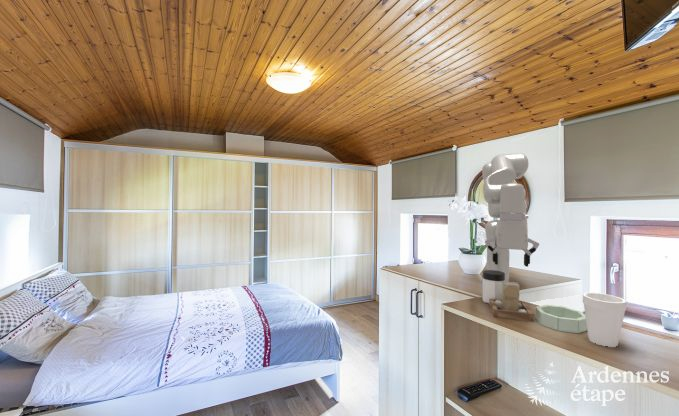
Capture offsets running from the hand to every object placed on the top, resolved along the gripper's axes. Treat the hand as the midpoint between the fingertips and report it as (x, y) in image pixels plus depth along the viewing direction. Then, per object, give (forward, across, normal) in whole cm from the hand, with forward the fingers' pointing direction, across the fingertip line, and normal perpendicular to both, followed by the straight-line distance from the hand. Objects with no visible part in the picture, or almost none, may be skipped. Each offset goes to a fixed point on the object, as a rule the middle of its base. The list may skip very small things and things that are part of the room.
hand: (510, 264), depth 109 cm
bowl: (+18, -14, +5) cm, 23 cm away
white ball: (+18, -3, +3) cm, 18 cm away
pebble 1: (+18, +3, -4) cm, 18 cm away
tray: (+18, 0, 0) cm, 18 cm away
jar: (+18, +4, -12) cm, 22 cm away
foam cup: (+18, -21, +16) cm, 32 cm away
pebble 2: (+18, -3, -4) cm, 18 cm away
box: (+18, 0, 0) cm, 18 cm away
